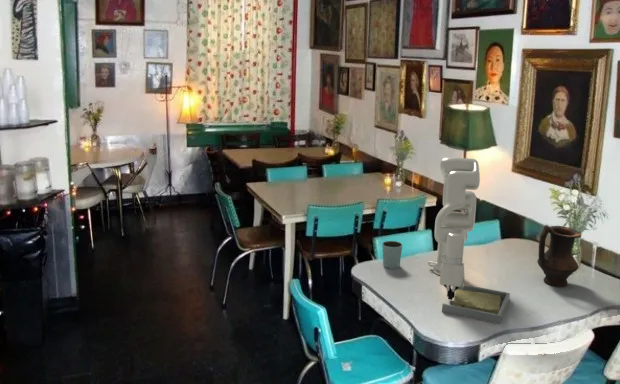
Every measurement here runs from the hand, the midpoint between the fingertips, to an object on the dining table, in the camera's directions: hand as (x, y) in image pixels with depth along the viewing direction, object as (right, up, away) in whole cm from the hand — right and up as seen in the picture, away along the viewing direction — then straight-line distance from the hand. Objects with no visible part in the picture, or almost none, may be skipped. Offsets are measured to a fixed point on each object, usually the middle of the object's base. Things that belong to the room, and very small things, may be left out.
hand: (450, 298), depth 276 cm
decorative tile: (+11, -3, -3) cm, 12 cm away
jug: (+56, +3, +24) cm, 61 cm away
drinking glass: (-21, +9, +41) cm, 47 cm away
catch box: (+10, -2, -4) cm, 12 cm away
